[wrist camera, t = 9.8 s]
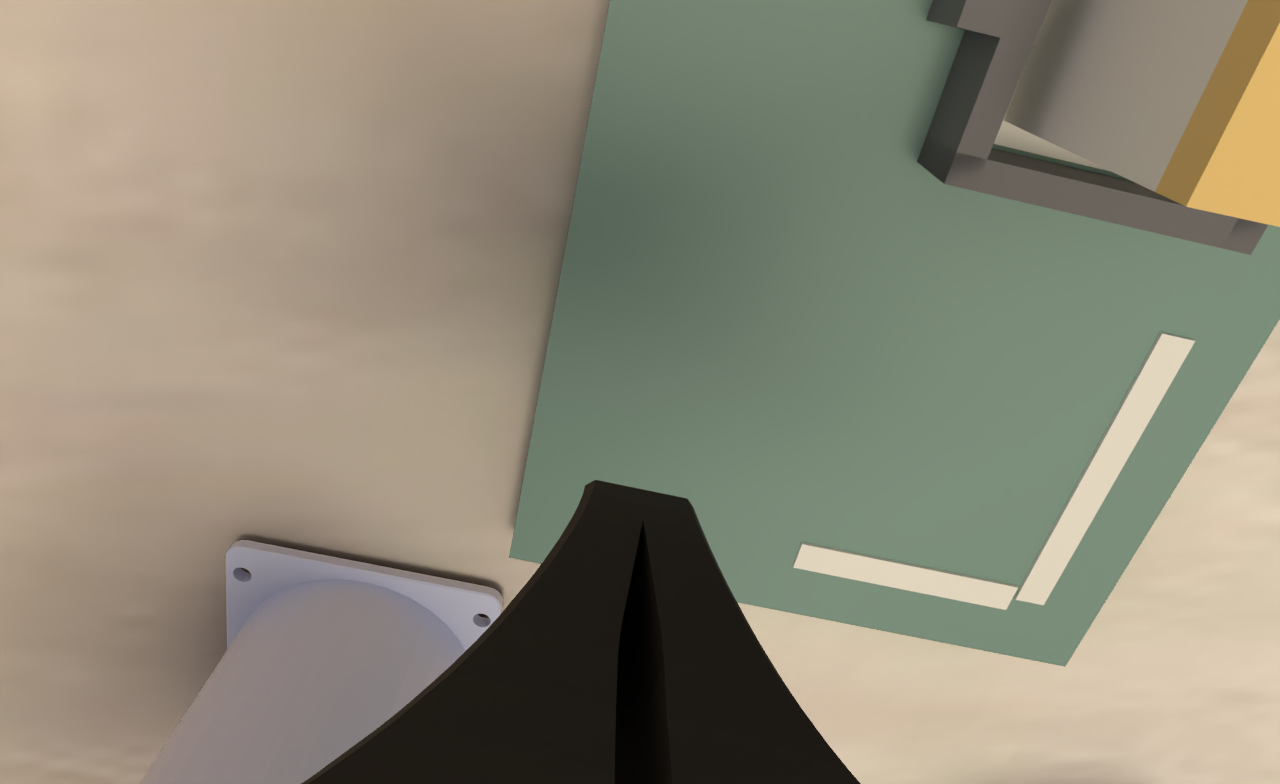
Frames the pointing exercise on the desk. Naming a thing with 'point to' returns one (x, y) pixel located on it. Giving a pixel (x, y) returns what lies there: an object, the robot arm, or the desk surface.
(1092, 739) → the desk surface
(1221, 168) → the plug
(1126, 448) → the board
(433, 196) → the desk surface
